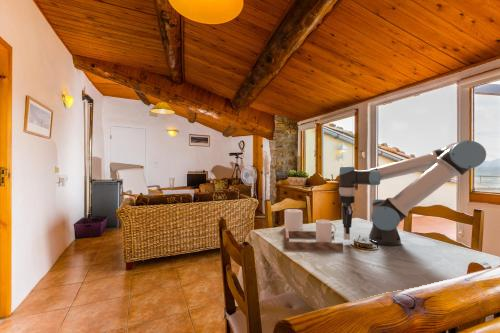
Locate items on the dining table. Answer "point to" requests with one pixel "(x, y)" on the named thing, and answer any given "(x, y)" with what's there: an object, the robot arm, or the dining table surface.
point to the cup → (294, 219)
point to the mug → (324, 231)
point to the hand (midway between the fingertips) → (346, 239)
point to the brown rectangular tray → (309, 244)
